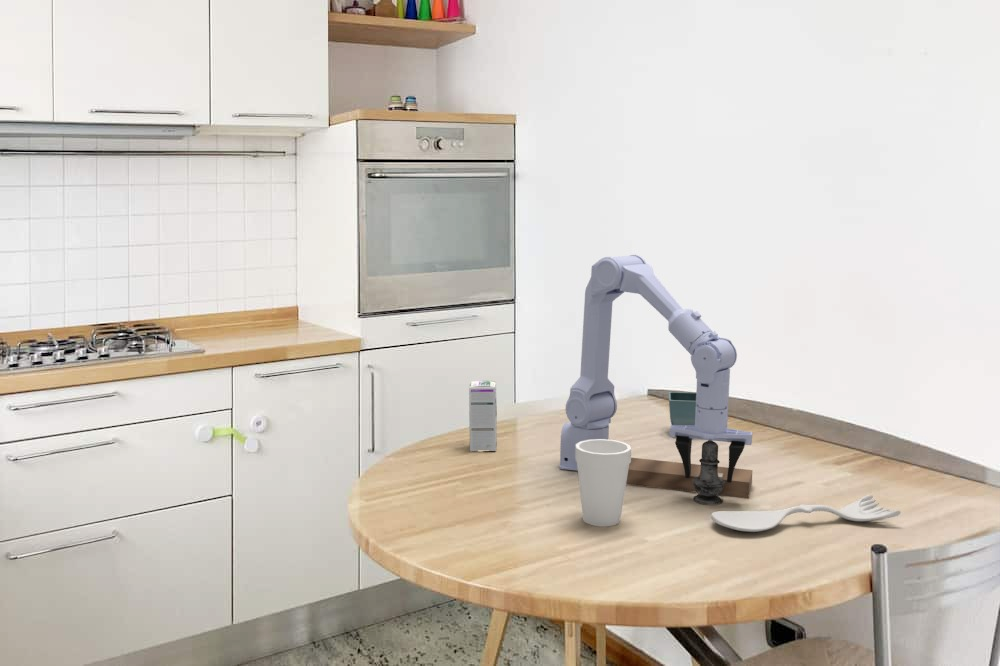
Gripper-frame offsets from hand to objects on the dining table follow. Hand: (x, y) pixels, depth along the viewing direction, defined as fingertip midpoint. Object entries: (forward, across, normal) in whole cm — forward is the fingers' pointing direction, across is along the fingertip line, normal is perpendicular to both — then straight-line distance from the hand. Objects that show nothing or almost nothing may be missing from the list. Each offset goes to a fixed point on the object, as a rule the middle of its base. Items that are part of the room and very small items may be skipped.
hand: (708, 478), depth 171 cm
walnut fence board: (+4, -5, +8) cm, 10 cm away
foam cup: (+4, -16, -17) cm, 24 cm away
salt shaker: (+4, 0, 0) cm, 4 cm away
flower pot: (+4, -10, +45) cm, 46 cm away
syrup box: (+4, -50, +17) cm, 53 cm away
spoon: (+4, +16, -7) cm, 18 cm away
